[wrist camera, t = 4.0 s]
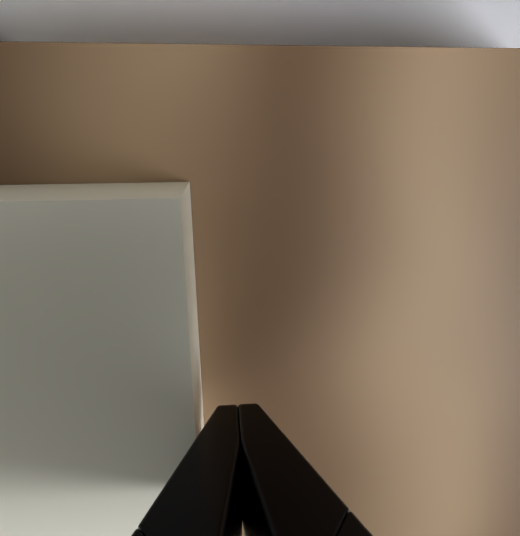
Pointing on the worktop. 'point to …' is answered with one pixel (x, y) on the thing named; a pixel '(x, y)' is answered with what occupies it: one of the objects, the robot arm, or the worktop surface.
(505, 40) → the worktop surface
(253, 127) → the deck
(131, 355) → the cream box
